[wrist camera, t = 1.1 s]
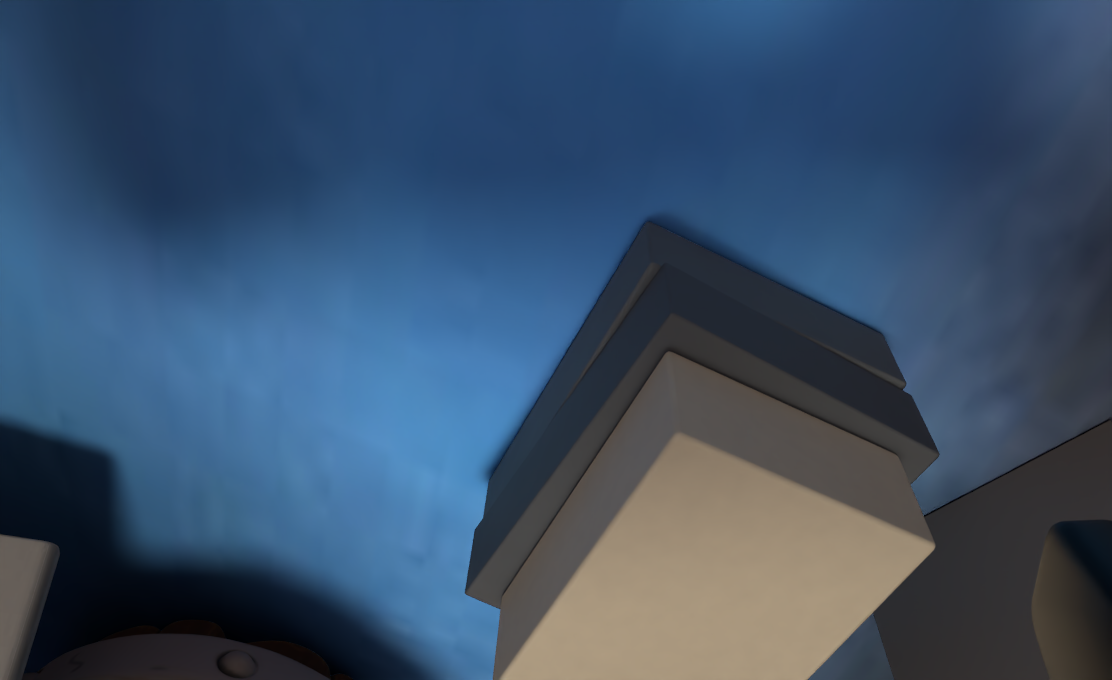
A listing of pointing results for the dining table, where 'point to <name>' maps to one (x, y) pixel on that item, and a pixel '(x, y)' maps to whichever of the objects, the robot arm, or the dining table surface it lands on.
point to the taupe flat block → (712, 543)
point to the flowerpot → (185, 657)
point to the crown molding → (22, 598)
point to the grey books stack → (707, 339)
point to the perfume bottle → (992, 569)
